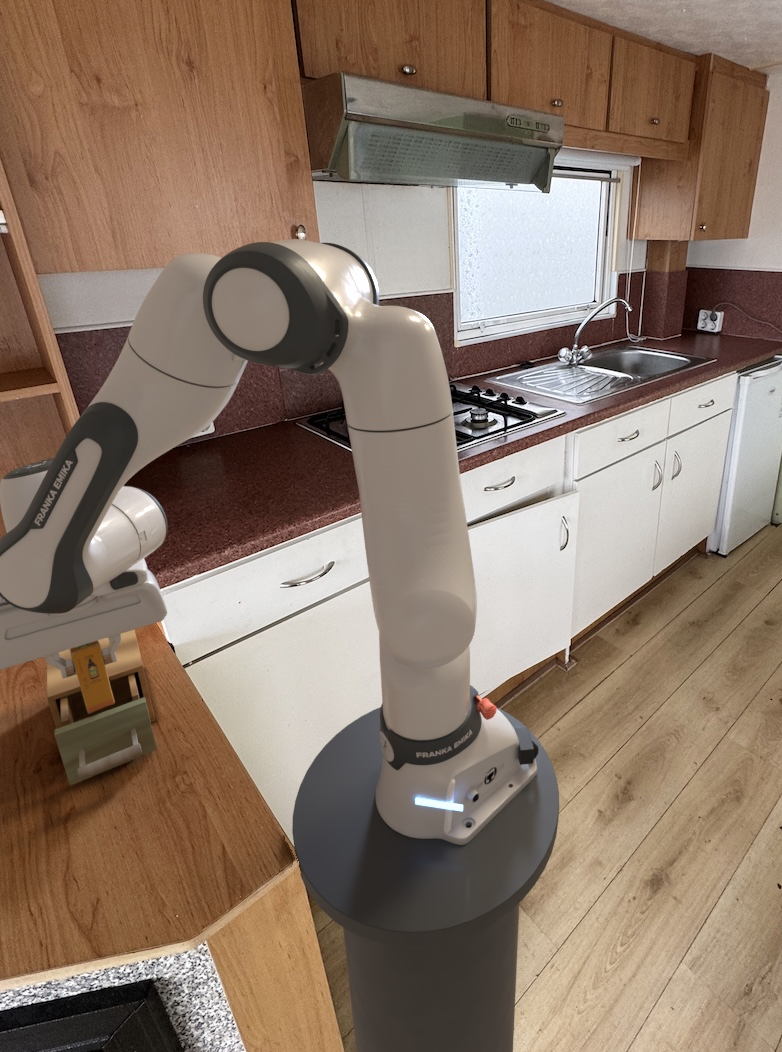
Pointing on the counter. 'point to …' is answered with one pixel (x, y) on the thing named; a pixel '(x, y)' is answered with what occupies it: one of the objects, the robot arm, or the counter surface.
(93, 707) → the supplement box
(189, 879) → the counter surface
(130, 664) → the cabinet
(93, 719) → the drawer
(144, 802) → the counter surface
